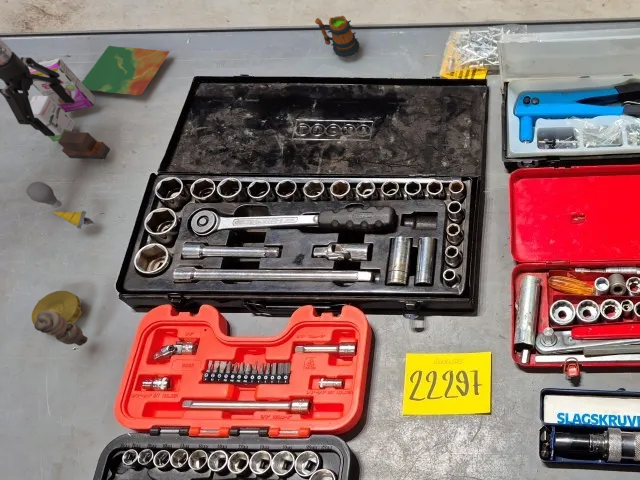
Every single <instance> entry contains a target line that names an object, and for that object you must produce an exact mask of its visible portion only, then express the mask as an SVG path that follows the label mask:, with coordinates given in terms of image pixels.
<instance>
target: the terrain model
mask: <svg viewBox="0 0 640 480" xmlns="http://www.w3.org/2000/svg"><path fill="white" fill-rule="evenodd" d="M170 53H171V51H169V50H158V49H149V48H142V47H131V46H115V45H108V46H107V47H106V48H105V50H104V51H103V53H102V54H101V55H100V57H99V58H98V59H97V61H96V62H95V64H94V65H93V66H92V67H91V69H90V70H89V71H88V73H87V74H86V76H85V77H84V78H83V80H82V81H81V82H82V83H83V84H84V85H85V86H86V88H87V89H88V90H89V91H95V92H103V93H111V94H121V95H122V94H123V95H136V96H141V95H142V94H143V93H144V91H145V90H146V88H147V87H148V85H149V84H150V83H151V81H152V80H153V78H154V77H155V76H156V74H157V73H158V70H159V69H160V67H161V66H162V65H163V63H164V61H166V58H167V57H168V55H169V54H170Z"/></svg>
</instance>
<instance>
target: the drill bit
mask: <svg viewBox="0 0 640 480" xmlns="http://www.w3.org/2000/svg"><path fill="white" fill-rule="evenodd" d="M52 213H53V214H55V215H56V216H58V217H60V218H62V219H63V220H64V221H67V222H68V223H70V224H72V225H74V226H75V227H76V228H77V229H80V230H81V229H82V227H83V225H86V226H88V225H94V224H96V223H95V222H94V221H93V220H92V219H91V218H89V217H87V216H86V214H87V211H84V210H81V211H53V212H52Z"/></svg>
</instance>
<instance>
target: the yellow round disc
mask: <svg viewBox="0 0 640 480" xmlns="http://www.w3.org/2000/svg"><path fill="white" fill-rule="evenodd" d="M81 309H82V303H81V299H80V297H79V296H78V295H77V294H74V293H73V292H71V291H69V290H56V291H52V292H50V293H48V294H46V295H45V296H43V297H42V298H41V299H40V300H39V301H38V302H36V304H35V306H34V308H33V309H32V311H31V322H32V324H33V325H35V322H36V321H37V319H36V317H37V315H38V314H39V313H40V312H42V311H46V310H50V311H54V312H56V313H57V314H59V315H60V316H61V317H63V318H64V319H65V320H66V321H67V323H72V324H75V323H76V322H77V321H78V320H79V318H81V316H82V313H83V311H82V310H81Z"/></svg>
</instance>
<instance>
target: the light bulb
mask: <svg viewBox="0 0 640 480" xmlns="http://www.w3.org/2000/svg"><path fill="white" fill-rule="evenodd" d="M26 194H27V196H28V197H29V199H31V200H32V201H34V202H36V203H42V204H45V205H49V206H51V207H53V209H59V208H61V206H62V204H63V203H62V201H60V200H59V199H58V198H57V196H56V195H55V193H54V190H53V188H52V187H51V186H50V185H49V184H47V183H44V182H40V181H35V182H32V183H30V184H29V185H27V187H26Z"/></svg>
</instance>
